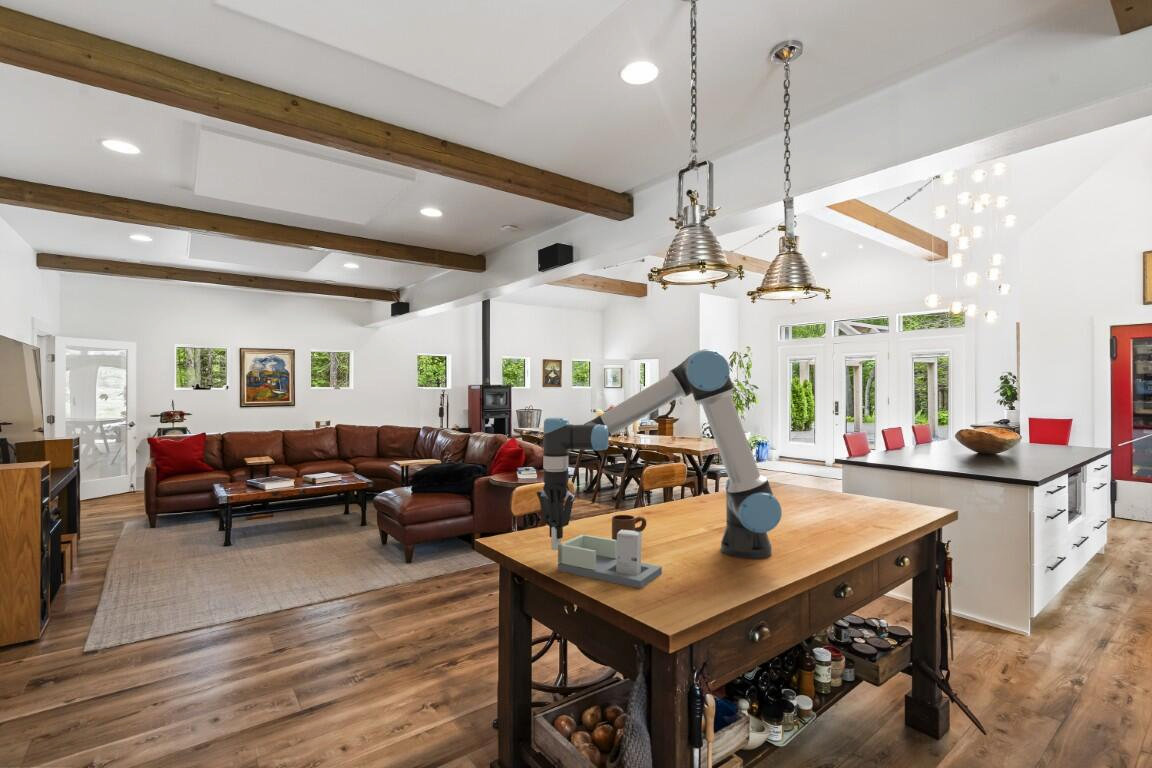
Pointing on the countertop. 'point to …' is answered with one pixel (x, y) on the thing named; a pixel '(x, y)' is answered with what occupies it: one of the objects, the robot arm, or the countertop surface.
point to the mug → (626, 524)
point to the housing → (586, 550)
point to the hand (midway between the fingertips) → (556, 548)
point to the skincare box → (629, 552)
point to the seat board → (614, 572)
